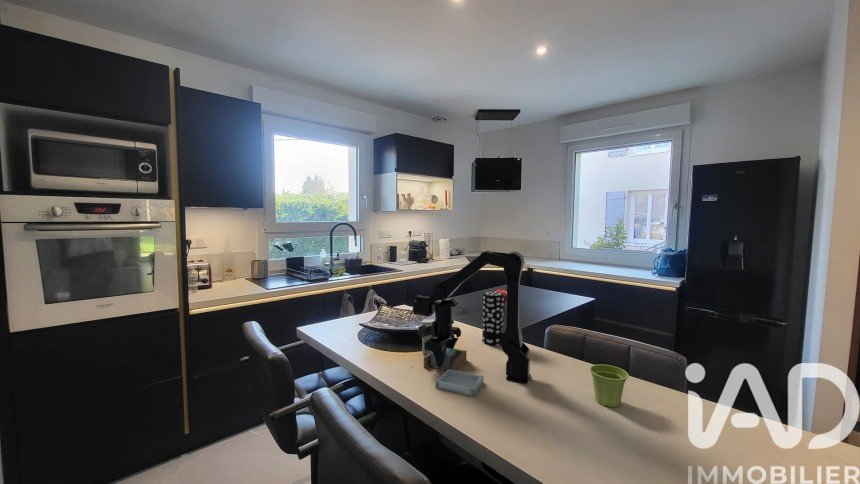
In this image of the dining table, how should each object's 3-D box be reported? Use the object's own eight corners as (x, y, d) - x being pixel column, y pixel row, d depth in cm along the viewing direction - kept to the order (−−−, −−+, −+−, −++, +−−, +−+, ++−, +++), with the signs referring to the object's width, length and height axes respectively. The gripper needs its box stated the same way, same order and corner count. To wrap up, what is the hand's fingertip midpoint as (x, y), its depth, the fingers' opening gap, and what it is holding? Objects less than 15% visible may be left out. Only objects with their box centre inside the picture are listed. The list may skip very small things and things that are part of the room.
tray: (483, 382, 108) (483, 375, 108) (473, 396, 99) (473, 389, 99) (448, 374, 113) (448, 368, 112) (435, 387, 104) (435, 381, 104)
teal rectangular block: (455, 365, 120) (455, 349, 120) (450, 371, 116) (450, 354, 115) (436, 361, 123) (437, 346, 123) (430, 367, 119) (430, 350, 118)
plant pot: (606, 413, 91) (607, 381, 90) (581, 395, 100) (582, 366, 99) (635, 408, 93) (636, 376, 92) (608, 391, 102) (609, 362, 102)
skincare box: (439, 350, 133) (439, 319, 133) (438, 355, 129) (439, 322, 128) (422, 349, 134) (422, 318, 133) (421, 354, 130) (421, 321, 129)
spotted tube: (478, 339, 145) (479, 292, 144) (496, 337, 148) (497, 290, 147) (488, 346, 138) (488, 296, 136) (506, 344, 140) (507, 295, 139)
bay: (466, 360, 124) (466, 350, 124) (453, 373, 114) (454, 363, 113) (438, 354, 129) (438, 345, 129) (423, 367, 118) (423, 357, 118)
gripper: (433, 308, 130) (433, 349, 131) (409, 322, 113) (409, 369, 115) (461, 312, 126) (461, 354, 127) (440, 326, 109) (440, 375, 110)
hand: (443, 362), depth 119 cm, fingers open, 6 cm apart
